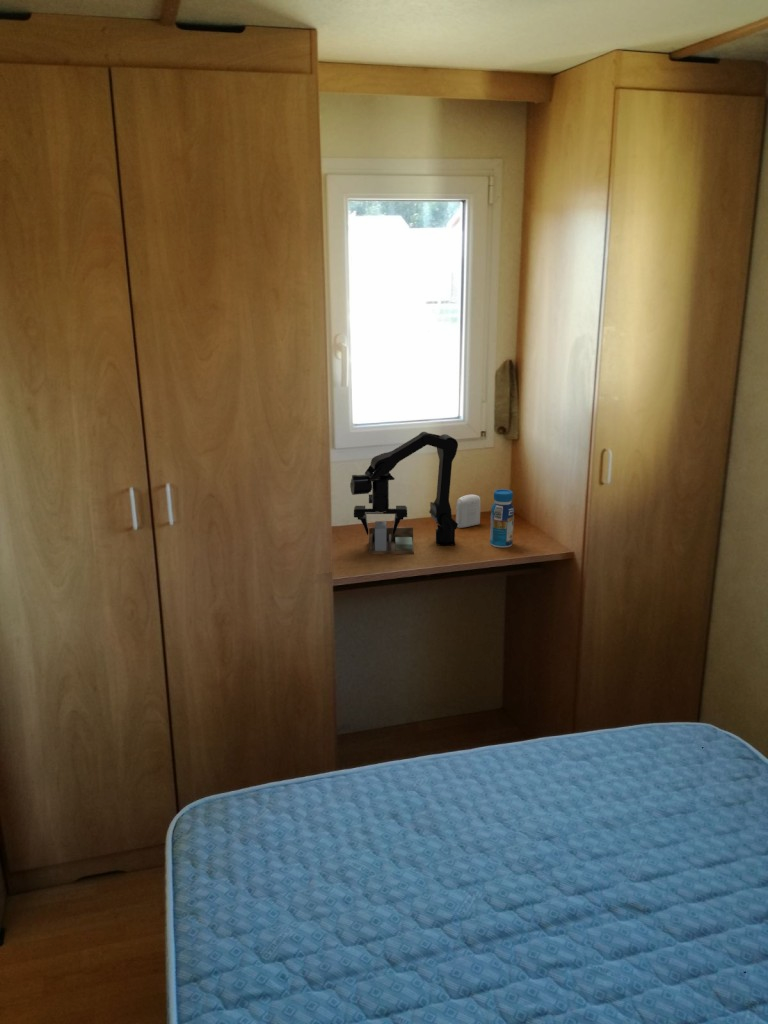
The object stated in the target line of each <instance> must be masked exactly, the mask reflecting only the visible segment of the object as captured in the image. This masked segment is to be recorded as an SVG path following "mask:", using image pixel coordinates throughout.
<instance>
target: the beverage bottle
mask: <svg viewBox="0 0 768 1024" xmlns="http://www.w3.org/2000/svg"><path fill="white" fill-rule="evenodd" d="M513 498H514V492H513V490H511V489H505V488H504V489H500V488H499V489H496V490H493V501H494V502H493V504H492V506H491V509H490V511H491V514H490V533H489V538H490V539H489V543H490V545H491V546H492V547H494V548H503V549H504V548H509V547H511V546H513V539H514V521H515V515H514V513H515V508H514V505H513V503H512V502H513Z"/></svg>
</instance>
